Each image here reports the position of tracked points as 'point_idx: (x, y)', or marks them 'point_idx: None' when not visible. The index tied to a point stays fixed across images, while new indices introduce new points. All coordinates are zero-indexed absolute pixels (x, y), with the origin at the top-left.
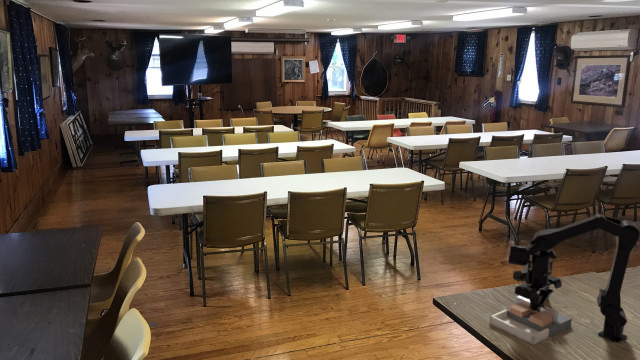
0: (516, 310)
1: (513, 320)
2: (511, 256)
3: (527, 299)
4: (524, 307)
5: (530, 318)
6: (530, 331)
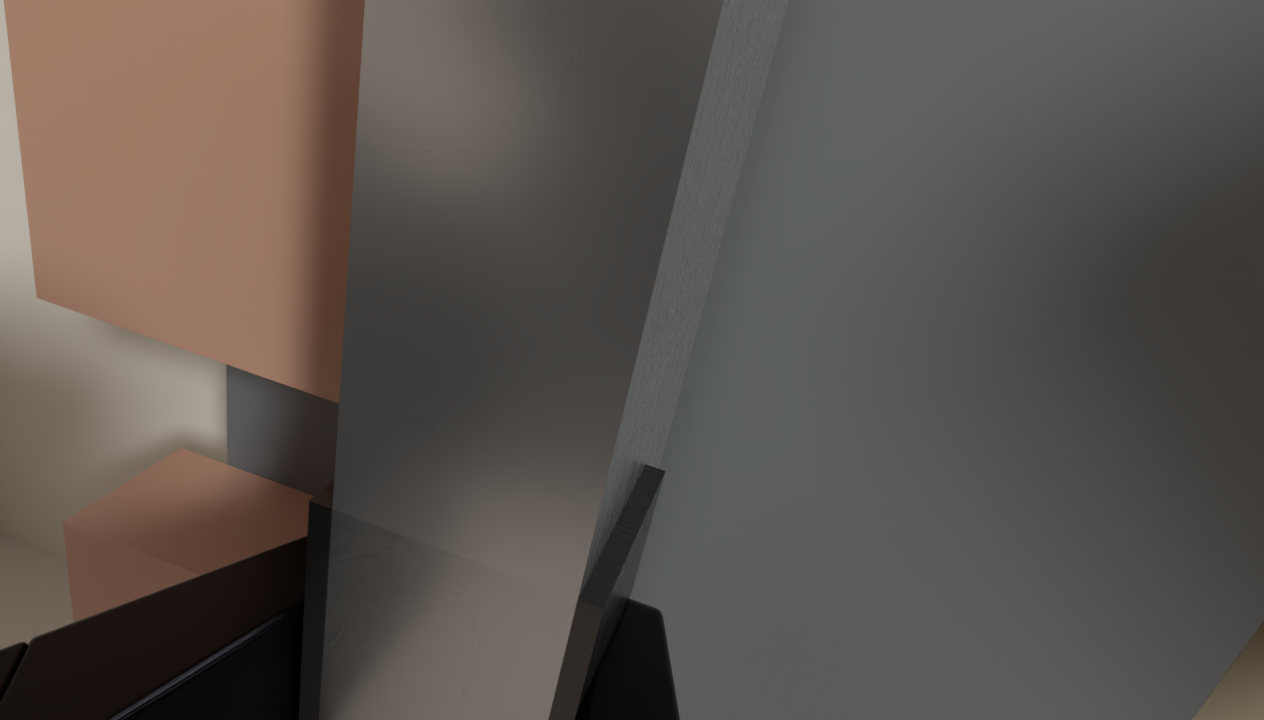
0: (35, 96)
1: None
2: None
3: (549, 326)
4: None
5: (124, 502)
6: (190, 442)
